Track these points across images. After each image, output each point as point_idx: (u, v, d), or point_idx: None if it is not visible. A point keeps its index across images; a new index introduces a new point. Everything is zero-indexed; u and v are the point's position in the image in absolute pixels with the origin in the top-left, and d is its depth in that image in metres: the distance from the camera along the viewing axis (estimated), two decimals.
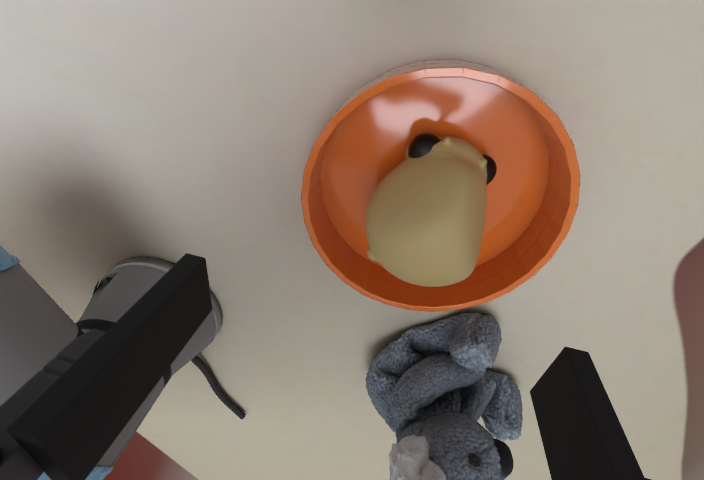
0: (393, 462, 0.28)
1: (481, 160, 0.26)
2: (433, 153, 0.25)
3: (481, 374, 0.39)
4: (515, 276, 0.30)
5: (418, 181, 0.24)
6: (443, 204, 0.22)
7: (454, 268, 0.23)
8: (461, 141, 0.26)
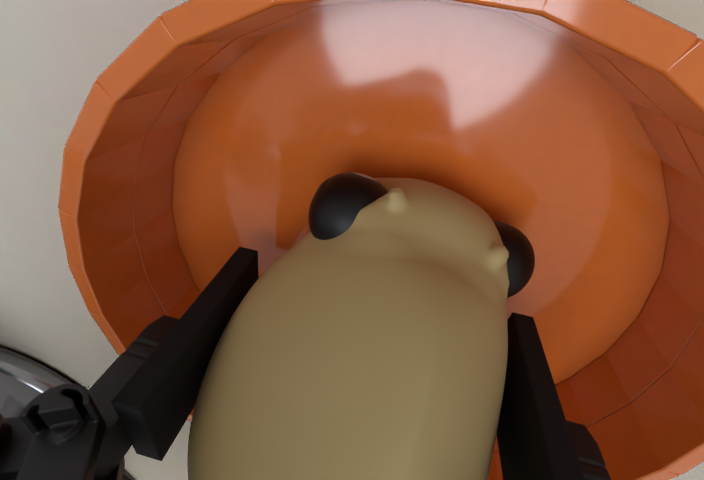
0: None
1: (492, 251, 0.09)
2: (356, 234, 0.09)
3: None
4: None
5: (299, 325, 0.08)
6: (339, 464, 0.06)
7: None
8: (436, 197, 0.10)
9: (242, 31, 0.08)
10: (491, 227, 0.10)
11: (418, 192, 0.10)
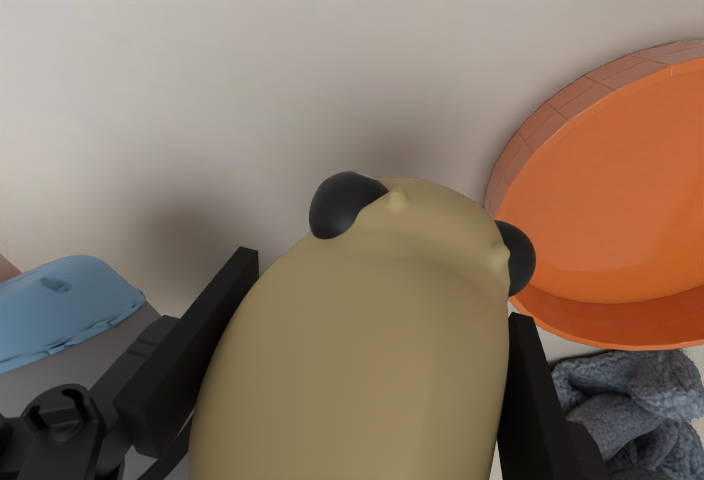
0: None
1: (493, 250, 0.09)
2: (357, 234, 0.09)
3: (663, 419, 0.33)
4: None
5: (300, 325, 0.08)
6: (340, 464, 0.06)
7: None
8: (437, 196, 0.10)
9: None
10: (492, 226, 0.10)
11: (419, 191, 0.10)
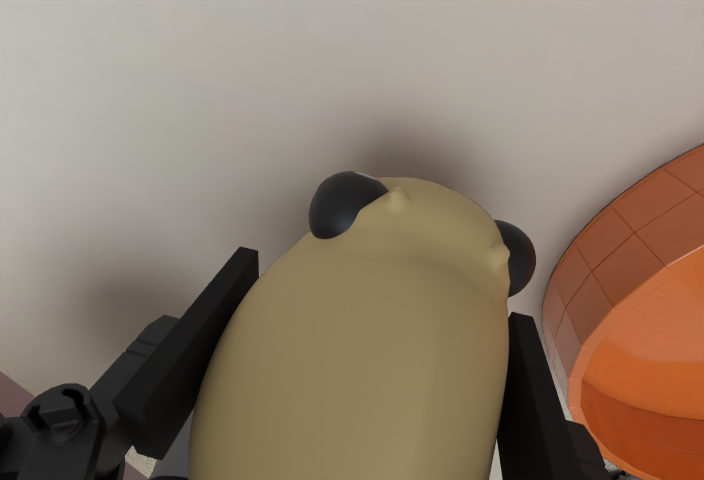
0: None
1: (493, 250, 0.09)
2: (356, 234, 0.09)
3: None
4: None
5: (299, 325, 0.08)
6: (340, 464, 0.06)
7: None
8: (437, 196, 0.10)
9: None
10: (492, 226, 0.10)
11: (419, 191, 0.10)
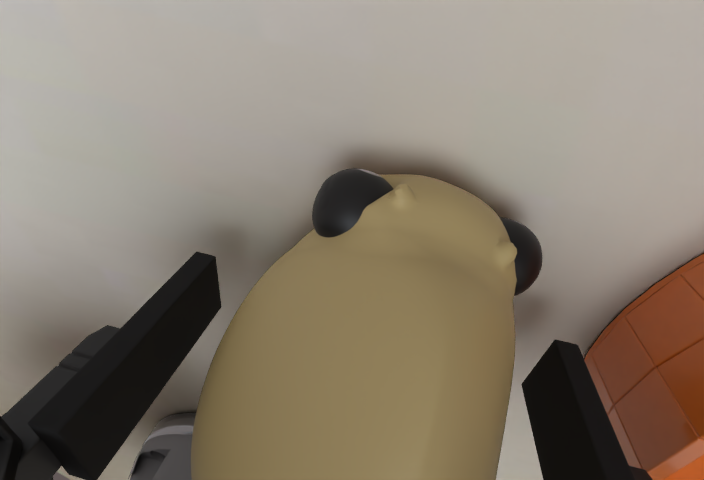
0: None
1: (500, 248, 0.09)
2: (362, 232, 0.09)
3: None
4: None
5: (304, 324, 0.08)
6: (348, 467, 0.06)
7: None
8: (443, 193, 0.09)
9: None
10: (498, 224, 0.10)
11: (425, 188, 0.10)
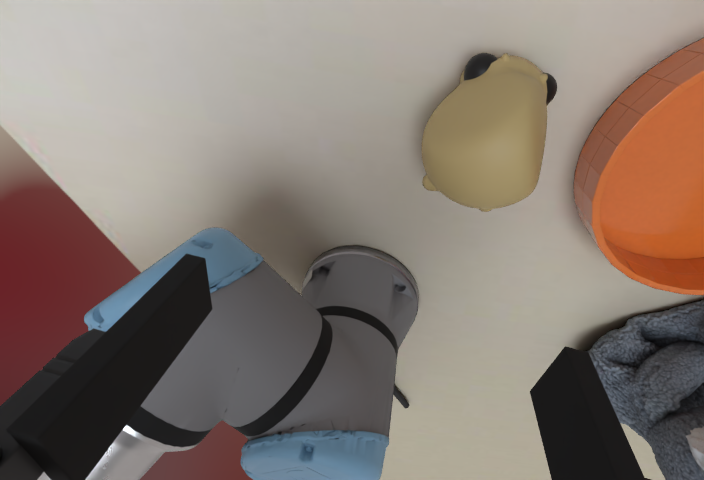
0: None
1: (541, 75, 0.25)
2: (491, 70, 0.25)
3: None
4: None
5: (477, 96, 0.25)
6: (506, 111, 0.22)
7: (517, 178, 0.23)
8: (519, 57, 0.26)
9: None
10: (540, 70, 0.26)
11: (512, 56, 0.26)
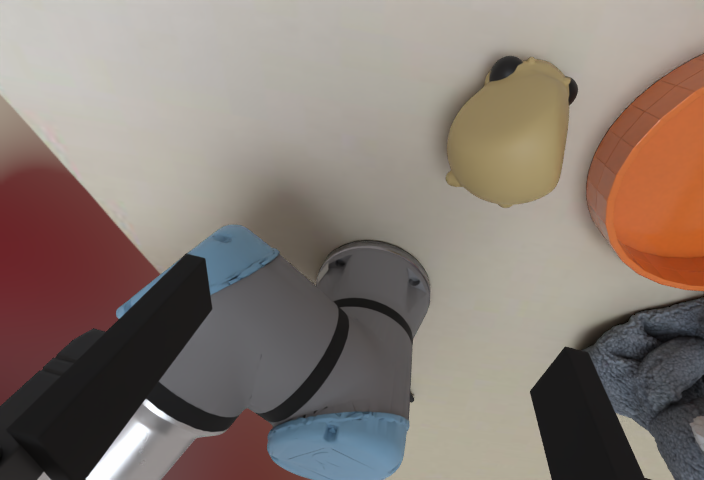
0: None
1: (565, 78, 0.27)
2: (518, 72, 0.27)
3: None
4: None
5: (505, 96, 0.26)
6: (535, 110, 0.24)
7: (544, 174, 0.25)
8: (544, 61, 0.27)
9: None
10: (563, 74, 0.27)
11: (537, 60, 0.27)
